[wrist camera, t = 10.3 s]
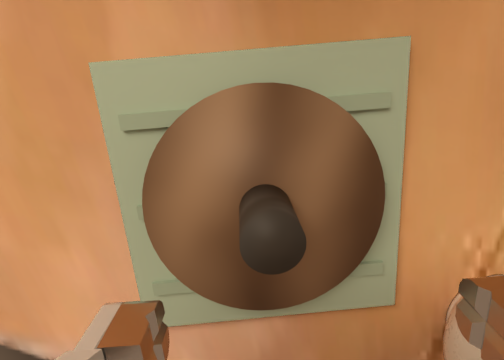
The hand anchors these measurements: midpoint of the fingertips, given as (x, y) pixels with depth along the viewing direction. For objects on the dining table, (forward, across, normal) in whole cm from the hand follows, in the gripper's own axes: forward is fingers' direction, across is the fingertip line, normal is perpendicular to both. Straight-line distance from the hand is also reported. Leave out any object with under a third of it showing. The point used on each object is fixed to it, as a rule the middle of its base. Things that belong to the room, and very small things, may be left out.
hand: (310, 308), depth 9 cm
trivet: (+10, +1, 0) cm, 10 cm away
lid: (+9, +1, +1) cm, 9 cm away
